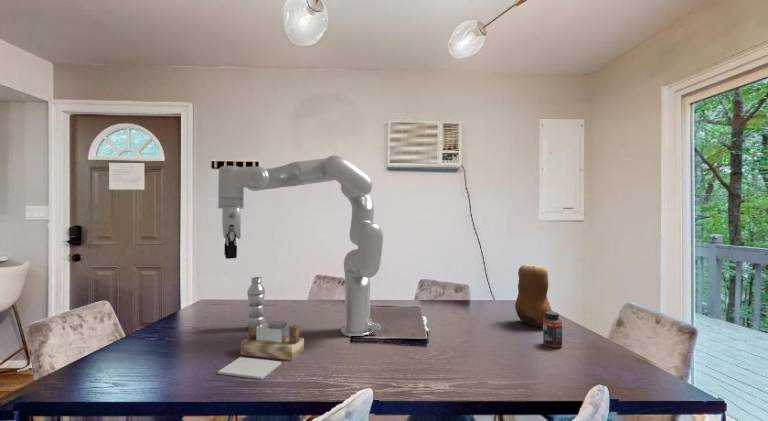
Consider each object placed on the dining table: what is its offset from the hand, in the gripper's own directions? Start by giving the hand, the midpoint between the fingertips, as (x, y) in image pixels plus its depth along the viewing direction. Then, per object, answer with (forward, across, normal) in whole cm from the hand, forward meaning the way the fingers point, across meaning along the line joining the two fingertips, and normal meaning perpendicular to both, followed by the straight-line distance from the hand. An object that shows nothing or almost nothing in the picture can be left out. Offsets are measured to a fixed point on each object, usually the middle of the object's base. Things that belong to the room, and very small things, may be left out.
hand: (230, 256), depth 108 cm
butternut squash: (+31, -25, -113) cm, 120 cm away
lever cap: (+27, -6, -13) cm, 31 cm away
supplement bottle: (+31, -43, -100) cm, 114 cm away
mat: (+31, -15, -5) cm, 35 cm away
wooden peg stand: (+31, -6, -13) cm, 34 cm away
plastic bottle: (+31, +21, -10) cm, 39 cm away
